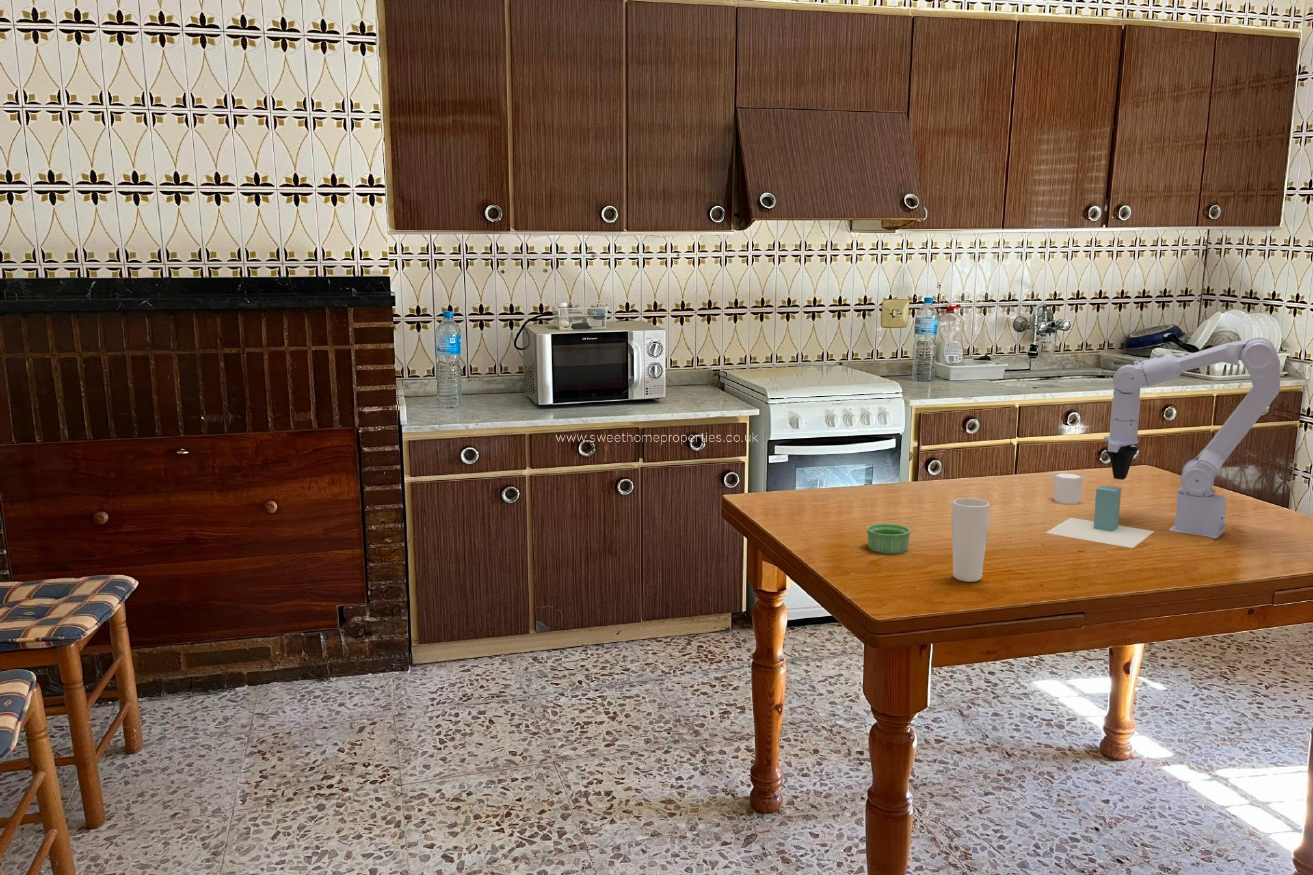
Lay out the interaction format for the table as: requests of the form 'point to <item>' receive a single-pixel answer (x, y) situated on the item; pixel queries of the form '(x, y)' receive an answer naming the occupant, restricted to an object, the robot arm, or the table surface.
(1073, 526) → the white mat
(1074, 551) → the table surface
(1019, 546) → the table surface
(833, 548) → the table surface
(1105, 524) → the teal block
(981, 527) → the drinking glass
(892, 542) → the ramekin
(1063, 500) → the white cylinder
